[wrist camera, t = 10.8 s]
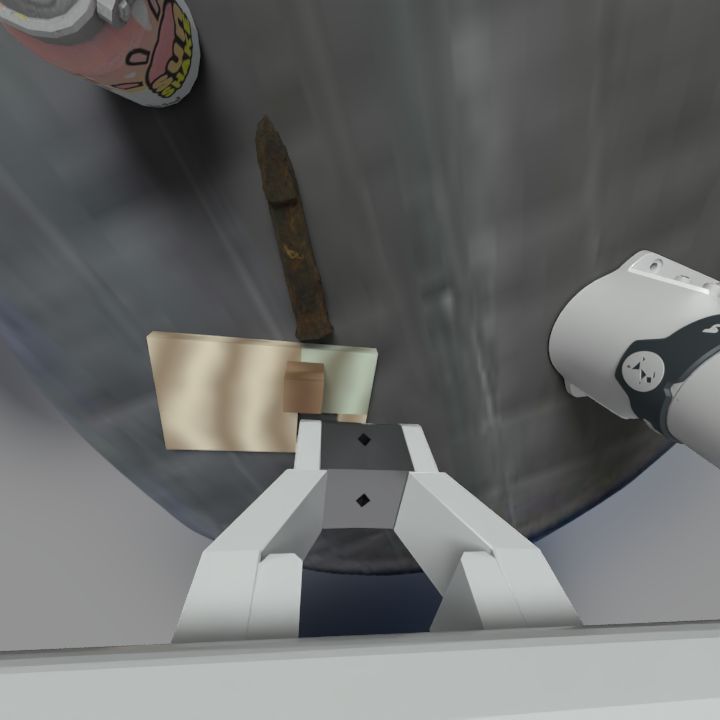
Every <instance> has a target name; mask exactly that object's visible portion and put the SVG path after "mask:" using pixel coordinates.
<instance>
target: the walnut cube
mask: <svg viewBox="0 0 720 720" xmlns="http://www.w3.org/2000/svg"><path fill="white" fill-rule="evenodd" d="M323 389H324V363H311V362H296V361H287V366H286V371H285V376H284V391H283V412H288V413H311V414H321V409H322V399H323Z"/></svg>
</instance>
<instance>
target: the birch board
mask: <svg viewBox="0 0 720 720" xmlns="http://www.w3.org/2000/svg"><path fill="white" fill-rule="evenodd" d="M147 342H148V348H149V353H150V359H151V365H152V370H153V376H154V382H155V388H156V393H157V399H158V405H159V410H160V416H161V422H162V427H163V433H164V439H165V444H166V449H183V450H222V451H261V452H296V447H297V439H298V436H297V422H298V413H288V412H283V391H284V376H285V371H286V366H287V361H296V362H311V363H324V389H323V399H322V409H321V413H337V421H341V422H356V423H366V418H367V412H368V407H369V401H370V396H371V390H372V385H373V379H374V374H375V368H376V362H377V357H378V353H377V350H376V348H364V347H352V346H339V345H326V344H313V343H300V342H287V341H275V340H262V339H249V338H236V337H223V336H210V335H198V334H185V333H172V332H159V331H153V332H152V333H150V334H149V335H148V336H147Z"/></svg>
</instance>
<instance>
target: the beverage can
mask: <svg viewBox="0 0 720 720" xmlns="http://www.w3.org/2000/svg"><path fill="white" fill-rule="evenodd" d="M0 22H1V23H2V24H3V25H4V27H5V28H6V29H7V30H8V31H9V32H10V33H11V35H12V36H13V37H14V38H15V39H16V40H18V41H19V42H20V43H22V44H23V45H24V46H25V47H27V48H28V49H29V50H31V51H32V52H33V53H35V54H36V55H37V56H38V57H40V58H41V59H42V60H44V61H46V62H48V63H50V64H52V65H54V66H57V67H59V68H61V69H63V70H65V71H68V72H70V73H72V74H74V75H76V76H79V77H81V78H83V79H85V80H87V81H90V82H92V83H94V84H96V85H98V86H100V87H103V88H105V89H107V90H109V91H111V92H114V93H116V94H118V95H120V96H122V97H125V98H127V99H129V100H131V101H134V102H136V103H138V104H141V105H143V106H149V107H160V108H162V107H166V106H169V105H172V104H175V103H178V102H179V101H180V100H181V99H182V98H183V97H185V96H186V95H187V94H188V93H189V92H190V90H191V88H192V86H193V84H194V82H195V80H196V78H197V76H198V69H199V62H200V48H199V40H198V32H197V30H196V27H195V24H194V21H193V19H192V16H191V13H190V10H189V8H188V6H187V5H186V3H185V2H184V0H0Z"/></svg>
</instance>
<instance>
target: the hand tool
mask: <svg viewBox="0 0 720 720" xmlns="http://www.w3.org/2000/svg"><path fill="white" fill-rule="evenodd" d="M255 143H256V150H257V158H258V164H259V166H260V169H261V175H262V182H263V191H264V193H265V197H266V199H267V200H268V205H269V210H270V214H271V218H272V221H273V226H274V229H275V234H276V239H277V243H278V248H279V253H280V257H281V261H282V265H283V270H284V274H285V278H286V282H287V286H288V291H289V295H290V299H291V303H292V307H293V311H294V314H295V318H296V321H297V325H298V327H297V329H296V333H295V336H296V338H297V339H299V340H313V339H316V340H318V339H321V338H323V337H324V336H327V335H329V334H331V333H333V331H334V327H333V326H332V325H331V323H330V322H329V321H328V319H327V316H328V312H327V309H326V308H325V307H324V300H323V292H322V288H321V281H320V280H321V277H320V274H319V272H318V270H317V269H316V264H315V261H314V256H313V252H312V248H311V244H310V239H309V235H308V231H307V225H306V221H305V217H304V212H303V208H302V203H301V200H300V196H299V189H298V184H297V180H296V178H295V175H294V171H293V167H292V164H291V161H290V159H289V156H288V152H287V149H286V146H285V145H283V142H282V140H281V138H280V136H279V132H277V131H276V130H275V128H274V125H273V124H272V122H271V120H270V119H269V117H268V116H267V115H264V117H263V119H262V120H261V121H260V122H259V123H258V126H257V132H256V137H255Z"/></svg>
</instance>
